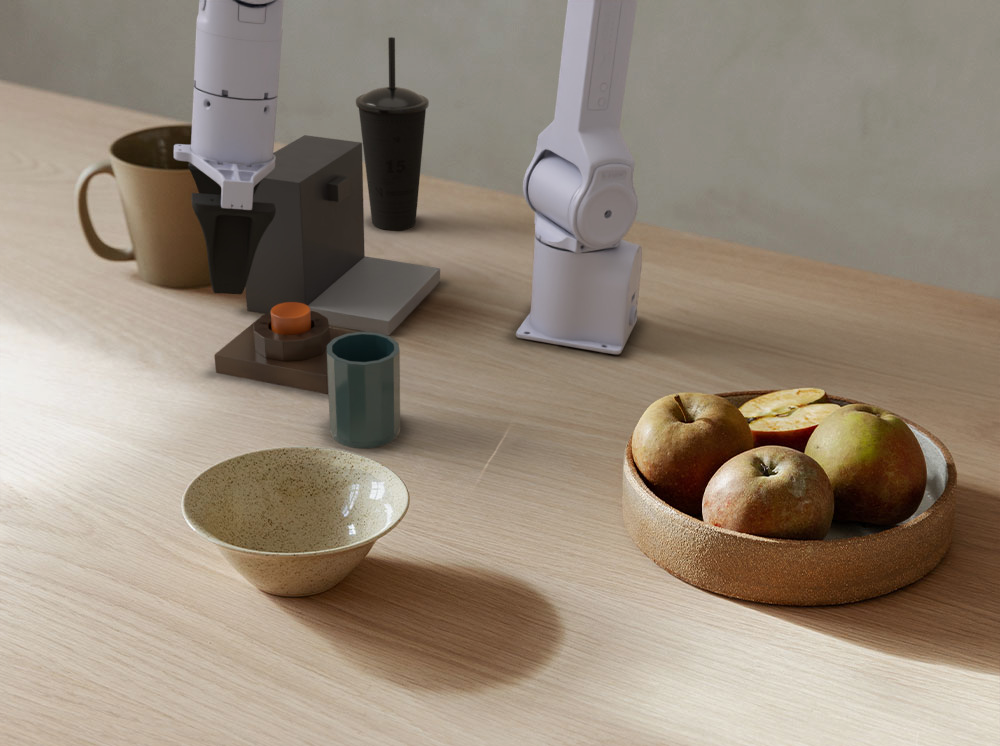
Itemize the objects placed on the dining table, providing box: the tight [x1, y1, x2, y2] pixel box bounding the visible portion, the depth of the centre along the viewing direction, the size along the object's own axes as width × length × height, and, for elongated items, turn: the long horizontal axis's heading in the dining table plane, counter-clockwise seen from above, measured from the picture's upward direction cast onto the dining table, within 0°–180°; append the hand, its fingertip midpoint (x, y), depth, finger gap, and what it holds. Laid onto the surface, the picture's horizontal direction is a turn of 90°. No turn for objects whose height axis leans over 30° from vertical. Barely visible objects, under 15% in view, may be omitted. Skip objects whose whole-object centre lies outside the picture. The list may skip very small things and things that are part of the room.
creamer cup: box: [327, 331, 401, 449], centre depth 81 cm, size 5×5×7 cm
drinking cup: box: [355, 36, 430, 231], centre depth 118 cm, size 8×8×20 cm
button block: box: [214, 311, 356, 395], centre depth 91 cm, size 10×8×4 cm
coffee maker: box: [244, 134, 441, 336], centre depth 101 cm, size 14×13×13 cm
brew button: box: [271, 302, 311, 335], centre depth 90 cm, size 3×3×2 cm
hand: (224, 272), depth 83 cm, fingers open, 7 cm apart
